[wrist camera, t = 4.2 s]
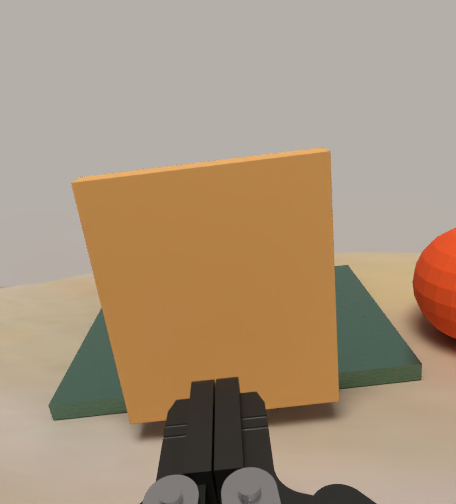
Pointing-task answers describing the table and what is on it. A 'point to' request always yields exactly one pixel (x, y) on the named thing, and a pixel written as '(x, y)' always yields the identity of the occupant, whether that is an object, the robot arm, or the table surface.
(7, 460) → the table surface
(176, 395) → the wooden stand
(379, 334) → the heat sink mount
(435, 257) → the clementine
